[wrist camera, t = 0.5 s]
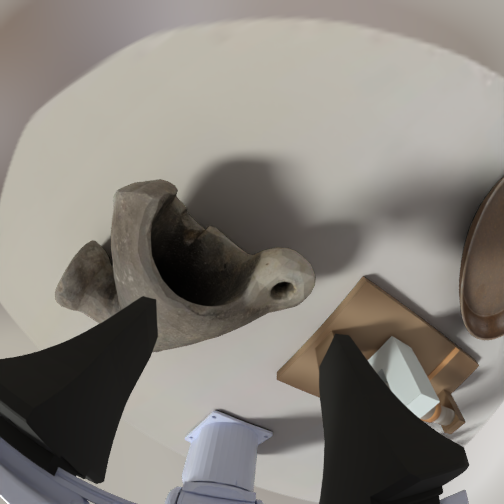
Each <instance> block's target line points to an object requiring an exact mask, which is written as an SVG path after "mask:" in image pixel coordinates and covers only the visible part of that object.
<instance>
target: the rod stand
mask: <svg viewBox="0 0 504 504" xmlns="http://www.w3.org/2000/svg"><path fill="white" fill-rule="evenodd" d="M335 334H343V335H349V336H350V337H351V338H352V340H353V341H354V342H355V344H356V345H357V347H358V348H359V349H360V351H361V352H362V354H363V355H364V356H365V358H366V359H367V360H369V359H370V358H371V357H372V356H373V355H374V354H375V353H376V352H377V351H378V350H379V349H380V348H381V347H382V346H383V345H384V344H385V342H386V341H387V340H388V339H389V338H390V337H391V336H393V337H395V338H396V339H398V340H400V341H401V342H403V343H405V344H406V345H408V346H409V347H411V348H412V350H413V352H414V354H415V355H416V357H417V359H418V361H419V362H420V364H421V366H422V368H423V370H424V372H425V373H426V375H427V377H428V379H429V381H430V383H431V385H432V387H433V389H434V391H435V393H436V395H437V396H438V398H439V400H440V402H439V403H438V404H437V405H436V406H435V407H433V408H432V409H431V410H430V411H429V412H427V413H426V414H425V415H424V416H423V417H421V418H420V419H421V420H422V421H426V422H433V423H437V424H441V426H442V428H443V430H444V433H448V434H452V433H453V432H454V431H456V430H457V429H458V428H459V427H461V426H462V425H463V424H464V423H465V420H464V418H463V416H462V414H461V412H460V410H459V408H458V406H457V404H456V403H455V401H454V399H453V397H452V395H451V393H452V392H453V391H455V390H456V389H457V388H458V387H459V386H460V385H461V384H462V383H463V382H464V381H465V380H466V379H467V378H468V377H469V376H470V375H471V374H472V373H473V372H474V370H475V369H476V368H477V367H478V366H479V364H478V363H477V362H476V360H474V359H473V358H472V357H471V356H469V355H468V354H467V353H466V352H465V351H463V350H462V349H461V348H459V347H458V346H457V345H456V344H454V343H453V342H452V341H451V340H449V339H448V338H447V337H445V336H444V335H443V334H442V333H440V332H439V331H438V330H436V329H435V328H434V327H432V326H431V325H430V324H429V323H427V322H426V321H425V320H423V319H422V318H421V317H419V316H418V315H417V314H415V313H414V312H413V311H411V310H410V309H409V308H407V307H406V306H404V305H403V304H402V303H400V302H399V301H398V300H396V299H395V298H393V297H392V296H391V295H389V294H388V293H387V292H385V291H384V290H382V289H381V288H380V287H378V286H377V285H375V284H374V283H372V282H371V281H370V280H368V279H367V278H365V277H364V276H363V277H362V278H361V279H360V281H359V282H358V283H357V284H356V286H355V287H354V288H353V289H352V291H351V292H350V293H349V294H348V295H347V297H346V298H345V299H344V300H343V301H342V303H341V304H340V305H339V306H338V307H337V308H336V310H335V311H334V312H333V313H332V314H331V315H330V316H329V318H328V319H327V320H326V321H325V322H324V323H323V324H322V325H321V327H320V328H319V329H318V330H317V331H316V332H315V333H314V334H313V335H312V336H311V338H310V339H309V340H308V341H307V342H306V343H305V344H304V345H303V346H302V347H301V348H300V349H299V350H298V351H297V352H296V353H295V354H294V356H293V357H292V358H291V359H290V360H289V361H288V362H287V363H286V364H285V365H284V366H283V367H282V368H281V369H280V370H279V371H278V372H277V380H279V381H281V382H284V383H286V384H288V385H290V386H293V387H295V388H298V389H300V390H302V391H305V392H307V393H310V394H312V395H315V396H317V397H320V393H319V366H320V364H321V362H322V360H323V358H324V356H325V354H326V352H327V350H328V348H329V346H330V344H331V342H332V339H333V337H334V335H335ZM384 383H385V384H386V385H387V386H388V387H389V384H388V383H387V382H385V381H384ZM389 389H390V387H389ZM390 390H391V389H390Z"/></svg>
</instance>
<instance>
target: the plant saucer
mask: <svg viewBox="0 0 504 504" xmlns="http://www.w3.org/2000/svg"><path fill="white" fill-rule="evenodd" d="M459 297H460V307H461V313H462V318H463V322H464V324H465V327H466V328H467V330H468V332H469V333H470V334H471V335H472V336H474V337H475V338H477V339H480V340H493V339H496V338H499V337H501V336H503V335H504V177H503V178H502V179H500V180H499V181H498V182H497V184H496V185H495V186H494V187H493V188H492V189H491V191H490V192H489V193H488V195H487V196H486V197H485V199H484V200H483V202H482V204H481V205H480V207H479V209H478V211H477V213H476V215H475V217H474V219H473V221H472V224H471V226H470V229H469V232H468V235H467V238H466V241H465V245H464V249H463V254H462V260H461V267H460V278H459Z"/></svg>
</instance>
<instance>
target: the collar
mask: <svg viewBox="0 0 504 504" xmlns="http://www.w3.org/2000/svg"><path fill="white" fill-rule="evenodd" d="M368 362H369V363H370V365H371V366H372V367H373V369H374V370H375V371H376V373H377V374H378V375H379V376H380V378H381V379H382V380H383V381H385V382H387V383H388V384H389V387H390V389H391V391H392V392H393V393H394V394H395V395H396V397H397V398H398V399H399V400H400V401H401V402H402V403H403V404H404V405H405V406H406V407H407V408H408V409H409V410H410V411H412V412H413V413H414V414H415V415H416V416H417V417H418V418H421V417H423V416H424V415H425V414H426V413H427V412H429V411H430V410H431V409H432V408H433V407H435V406H436V405H437V404H438V403H439V402H440V400H439V398H438V396H437V395H436V393H435V391H434V389H433V387H432V385H431V383H430V381H429V379H428V377H427V375H426V373H425V372H424V370H423V368H422V366H421V364H420V362H419V361H418V359H417V357H416V355H415V354H414V352H413V350H412V348H411V347H409V346H408V345H406V344H405V343H403V342H401V341H400V340H398V339H396V338H395V337H393V336H391V337H390V338H389V339H388V340H387V341H386V342H385V344H384V345H383V346H382V347H381V348H380V349H379V350H378V351H377V352H376V353H375V354H374V355H373V356H372V357H371V358H370V359H369V360H368Z"/></svg>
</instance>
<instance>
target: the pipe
mask: <svg viewBox="0 0 504 504" xmlns="http://www.w3.org/2000/svg"><path fill="white" fill-rule="evenodd" d="M177 191H178V190H177V188H176V187H175V186H174V185H173V184H171V183H170V182H168V181H164V180H161V179H160V180H153V181H145V182H137V183H133V184H130V185H128V186H125V187H123V188H121V189H119V190H117V192H116V193H115V195H114V199H113V218H112V227H111V252H112V260H113V267H112V265H111V263H110V259H109V257H108V255H107V253H106V251H105V250H104V249H103V248H102V247H101V246H100V245H99V244H98V243H97V242H96V241H90V242H89V243H87V244H85V245H84V246H83V247H82V248H81V249H80V250H79V252H78V253H77V254H76V255H75V256H74V258H73V259H72V261H71V262H70V264H69V265H68V267H67V269H66V270H65V272H64V274H63V276H62V278H61V279H60V281H59V283H58V286H57V288H56V291H55V300H56V302H57V303H58V304H60V305H61V306H63V307H66V308H68V309H71V310H74V311H80V312H82V313H84V314H86V315H87V316H88V317H90V318H92V319H93V320H95V321H96V322H98V323H102V322H103V321H105V320H107V319H108V318H110V317H111V316H113V315H114V314H116V313H118V312H119V311H121V310H122V309H124V308H125V307H127V306H128V305H130V304H131V303H133V302H134V301H136V300H137V299H139V298H140V297H142V296H145V297H148V298H152V299H156V305H157V327H158V338H157V341H156V343H155V346H154V349H153V351H152V352H159V351H163V350H168V349H173V348H178V347H182V346H187V345H191V344H195V343H198V342H201V341H204V340H208V339H211V338H215V337H219V336H221V335H223V334H226V333H228V332H231V331H233V330H235V329H238V328H240V327H242V326H244V325H246V324H248V323H250V322H252V321H254V320H256V319H257V318H259V317H261V316H263V315H265V314H267V313H270V312H274V311H279V310H283V309H287V308H291V307H295V306H297V305H299V304H300V303H301V302H303V301H304V300H305V299H306V298H307V297H308V296H309V295H310V293H311V292H312V290H313V288H314V286H315V279H316V277H315V274H314V271H313V269H312V267H311V265H310V263H309V262H308V261H307V260H306V259H305V258H304V257H302V256H301V255H300V254H299V253H298V252H296V251H294V250H292V249H289V248H278V247H276V248H271V249H266V250H263V251H261V252H259V253H256V254H254V255H250V254H247V253H246V252H245V251H243V250H242V249H240V248H239V247H238V246H237V245H235V244H234V243H233V242H232V241H231V240H229V239H228V238H227V237H226V236H225V235H224V234H222V233H221V232H220V231H219V230H218V229H216V228H215V227H212V226H209V227H208V228H207V229H206V230H205V229H204V228H203V227H202V226H200V225H199V224H198V223H197V222H196V221H195V220H194V219H193V218H192V217H191V216H190V215H189V214H188V213H187V209H186V207H185V206H184V204H183V203H182V202H181V201H180V200H179V199H178V198H177V196H176V194H177Z"/></svg>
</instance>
